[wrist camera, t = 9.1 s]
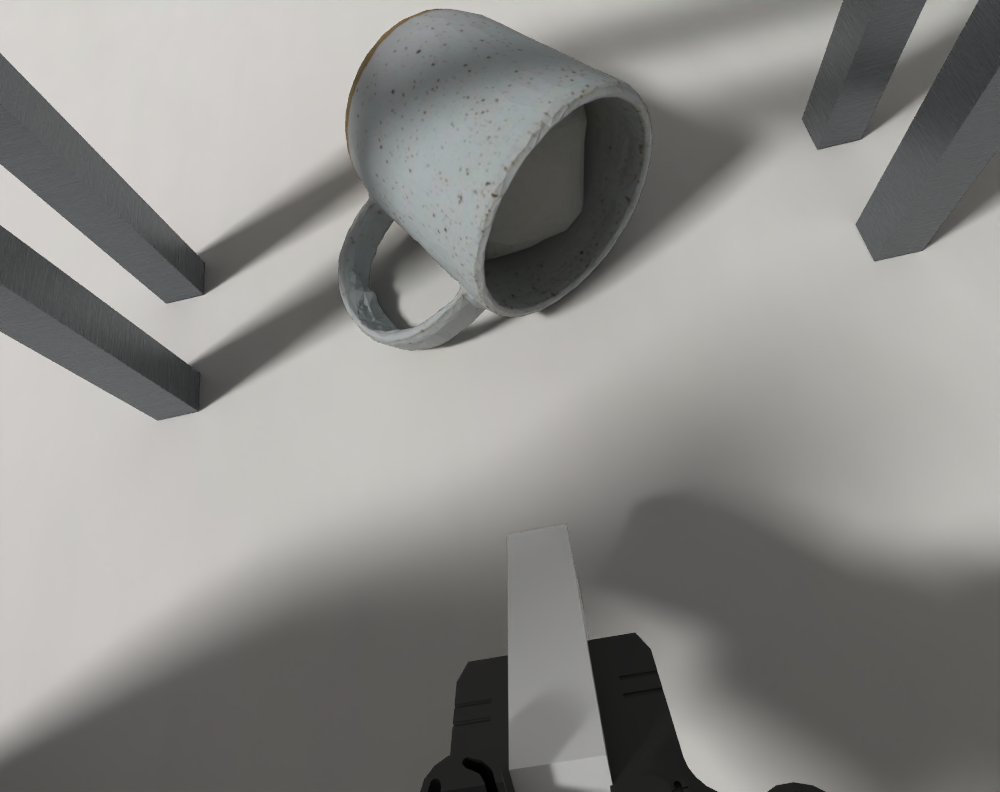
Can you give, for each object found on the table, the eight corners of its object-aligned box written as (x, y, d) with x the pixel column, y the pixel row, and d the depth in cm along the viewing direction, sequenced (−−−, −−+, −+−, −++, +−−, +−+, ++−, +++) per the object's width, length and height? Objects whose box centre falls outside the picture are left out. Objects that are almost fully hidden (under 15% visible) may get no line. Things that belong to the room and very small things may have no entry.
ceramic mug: (502, 120, 27) (462, -71, 20) (652, 220, 24) (667, 33, 17) (311, 284, 25) (194, 138, 18) (445, 415, 22) (365, 298, 15)
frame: (843, 108, 24) (1325, -1044, 8) (922, 250, 21) (1919, -1095, 5) (168, 271, 26) (-548, -387, 10) (157, 420, 23) (-870, -162, 7)
